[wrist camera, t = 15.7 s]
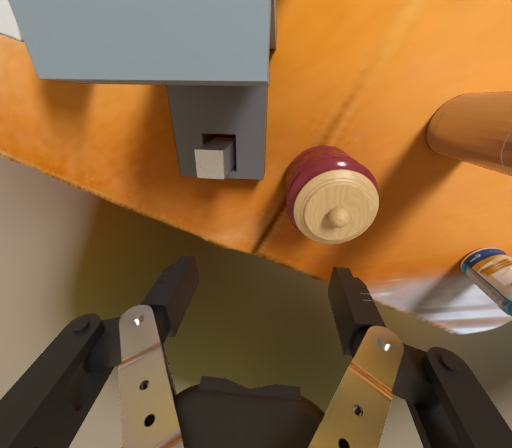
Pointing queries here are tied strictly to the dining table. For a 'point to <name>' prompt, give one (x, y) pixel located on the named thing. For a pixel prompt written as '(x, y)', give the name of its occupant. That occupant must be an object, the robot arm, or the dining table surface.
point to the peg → (215, 158)
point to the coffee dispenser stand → (149, 40)
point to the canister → (330, 195)
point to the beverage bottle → (491, 275)
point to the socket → (220, 124)
